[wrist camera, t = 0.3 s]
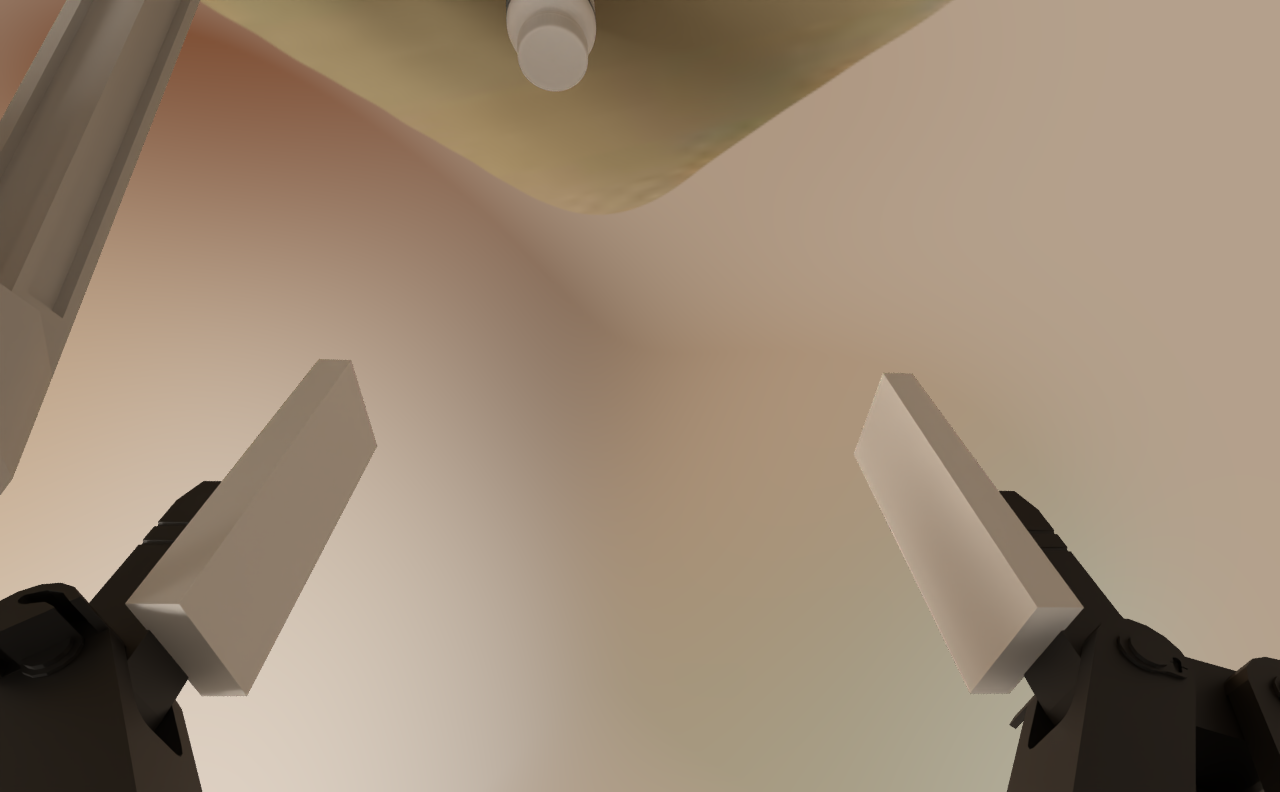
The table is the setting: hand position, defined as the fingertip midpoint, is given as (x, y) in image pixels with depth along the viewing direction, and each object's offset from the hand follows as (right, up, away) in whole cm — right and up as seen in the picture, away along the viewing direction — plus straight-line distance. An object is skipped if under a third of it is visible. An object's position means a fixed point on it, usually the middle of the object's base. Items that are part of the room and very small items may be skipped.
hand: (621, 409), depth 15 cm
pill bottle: (-5, +28, +21) cm, 35 cm away
